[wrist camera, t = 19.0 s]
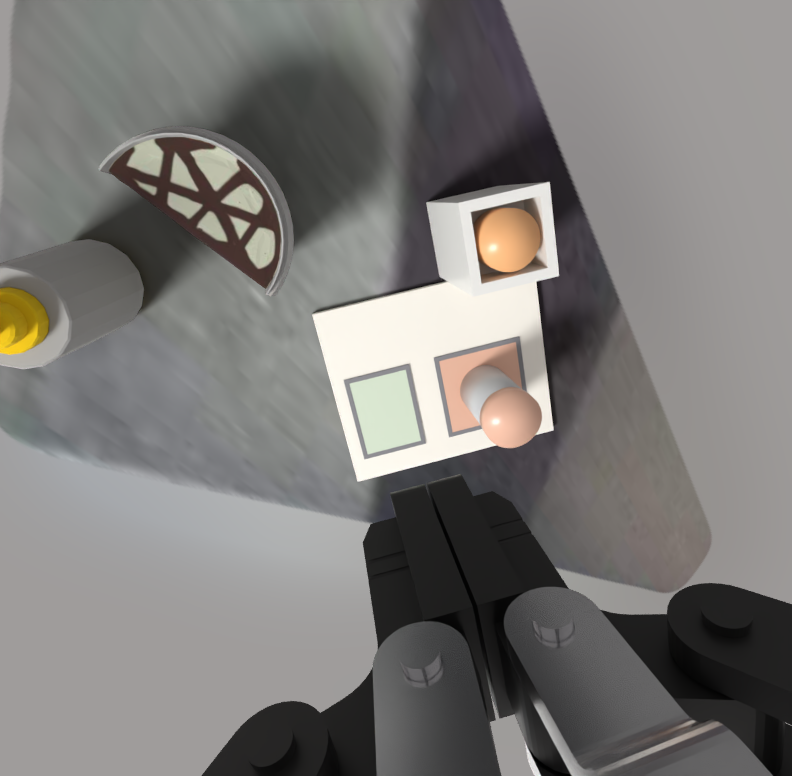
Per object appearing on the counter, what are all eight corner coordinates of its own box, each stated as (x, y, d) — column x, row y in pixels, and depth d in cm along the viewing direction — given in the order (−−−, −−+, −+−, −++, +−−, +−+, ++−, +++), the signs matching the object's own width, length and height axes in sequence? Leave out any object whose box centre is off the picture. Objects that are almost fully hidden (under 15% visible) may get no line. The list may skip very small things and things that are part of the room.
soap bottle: (66, 220, 39) (-116, 236, 23) (161, 262, 41) (59, 304, 25) (39, 305, 41) (-148, 378, 24) (132, 341, 43) (18, 432, 26)
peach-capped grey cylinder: (455, 371, 47) (479, 400, 40) (505, 358, 47) (538, 385, 40) (463, 417, 49) (488, 454, 42) (511, 405, 49) (545, 439, 42)
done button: (465, 214, 36) (476, 216, 34) (522, 201, 36) (536, 201, 34) (474, 273, 37) (485, 278, 35) (529, 260, 38) (543, 264, 35)
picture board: (312, 313, 44) (312, 315, 44) (531, 260, 45) (534, 261, 45) (357, 478, 50) (358, 482, 49) (550, 427, 51) (554, 430, 50)
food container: (329, 217, 42) (333, 222, 33) (282, 278, 43) (273, 300, 34) (190, 100, 38) (151, 68, 29) (142, 172, 39) (88, 163, 30)
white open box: (426, 202, 43) (458, 202, 33) (498, 185, 43) (549, 181, 34) (439, 276, 45) (473, 296, 35) (507, 260, 45) (559, 275, 36)
